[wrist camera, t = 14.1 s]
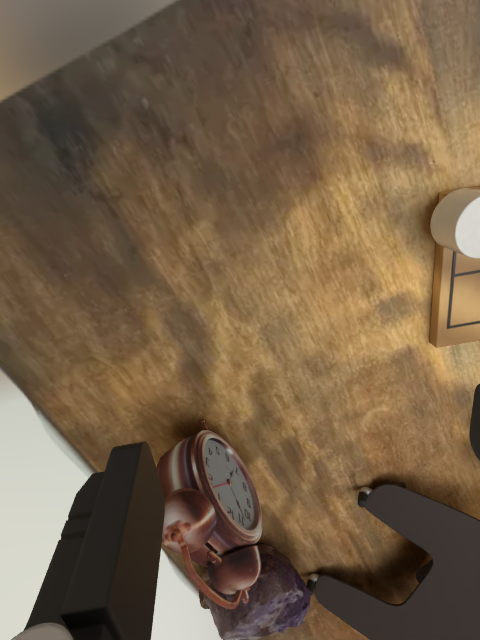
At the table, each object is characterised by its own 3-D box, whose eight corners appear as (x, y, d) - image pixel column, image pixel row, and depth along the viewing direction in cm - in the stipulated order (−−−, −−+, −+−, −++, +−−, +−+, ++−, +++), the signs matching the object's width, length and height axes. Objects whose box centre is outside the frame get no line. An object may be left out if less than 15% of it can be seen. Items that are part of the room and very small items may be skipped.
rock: (280, 571, 51) (299, 520, 47) (305, 647, 43) (329, 594, 39) (194, 583, 48) (206, 529, 43) (204, 668, 40) (220, 612, 36)
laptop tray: (375, 433, 49) (372, 477, 40) (571, 529, 43) (614, 603, 35) (307, 552, 57) (294, 609, 48) (465, 645, 51) (480, 728, 43)
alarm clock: (257, 465, 41) (283, 619, 28) (221, 486, 42) (229, 647, 28) (196, 400, 37) (191, 543, 24) (157, 425, 38) (131, 577, 24)
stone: (431, 193, 30) (458, 197, 27) (491, 183, 30) (524, 186, 27) (428, 252, 32) (452, 263, 29) (484, 243, 32) (514, 253, 29)
